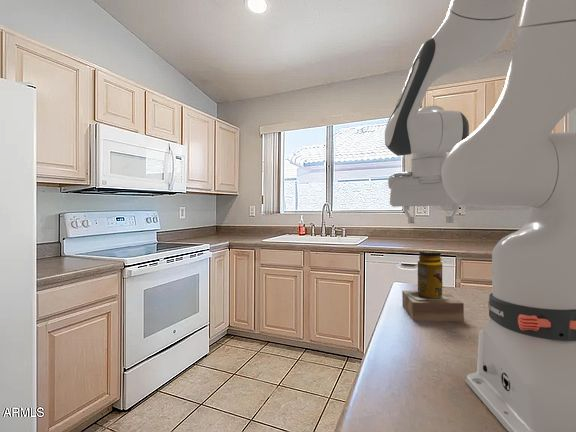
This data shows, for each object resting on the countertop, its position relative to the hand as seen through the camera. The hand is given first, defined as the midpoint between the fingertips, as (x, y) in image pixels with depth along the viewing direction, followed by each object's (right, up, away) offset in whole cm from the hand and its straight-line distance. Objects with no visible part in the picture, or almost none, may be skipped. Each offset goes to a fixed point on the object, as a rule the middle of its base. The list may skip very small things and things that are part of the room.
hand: (430, 223), depth 86 cm
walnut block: (0, -25, +1) cm, 25 cm away
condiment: (-1, -20, +1) cm, 20 cm away
